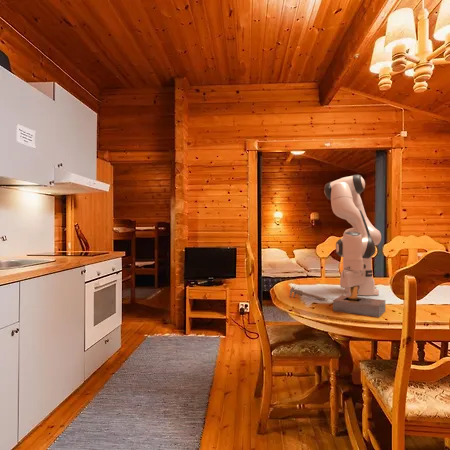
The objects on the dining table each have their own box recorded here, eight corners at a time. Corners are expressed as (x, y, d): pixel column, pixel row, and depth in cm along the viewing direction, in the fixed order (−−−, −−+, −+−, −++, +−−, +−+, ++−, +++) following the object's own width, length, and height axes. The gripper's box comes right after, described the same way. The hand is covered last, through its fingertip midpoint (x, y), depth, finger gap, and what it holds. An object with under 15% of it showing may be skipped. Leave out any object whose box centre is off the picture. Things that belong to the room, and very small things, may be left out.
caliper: (289, 297, 192) (289, 286, 192) (290, 297, 193) (290, 286, 193) (327, 301, 182) (327, 289, 183) (327, 300, 183) (327, 289, 184)
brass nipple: (347, 306, 165) (347, 285, 165) (356, 306, 164) (356, 286, 164) (348, 308, 161) (348, 287, 161) (357, 308, 160) (357, 287, 160)
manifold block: (342, 305, 172) (342, 295, 172) (385, 311, 160) (385, 300, 160) (333, 310, 160) (333, 300, 160) (378, 317, 149) (379, 305, 149)
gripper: (349, 268, 153) (349, 299, 153) (367, 264, 168) (367, 293, 168) (336, 267, 157) (336, 297, 157) (355, 263, 172) (355, 291, 172)
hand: (352, 295), depth 162 cm, fingers open, 8 cm apart
